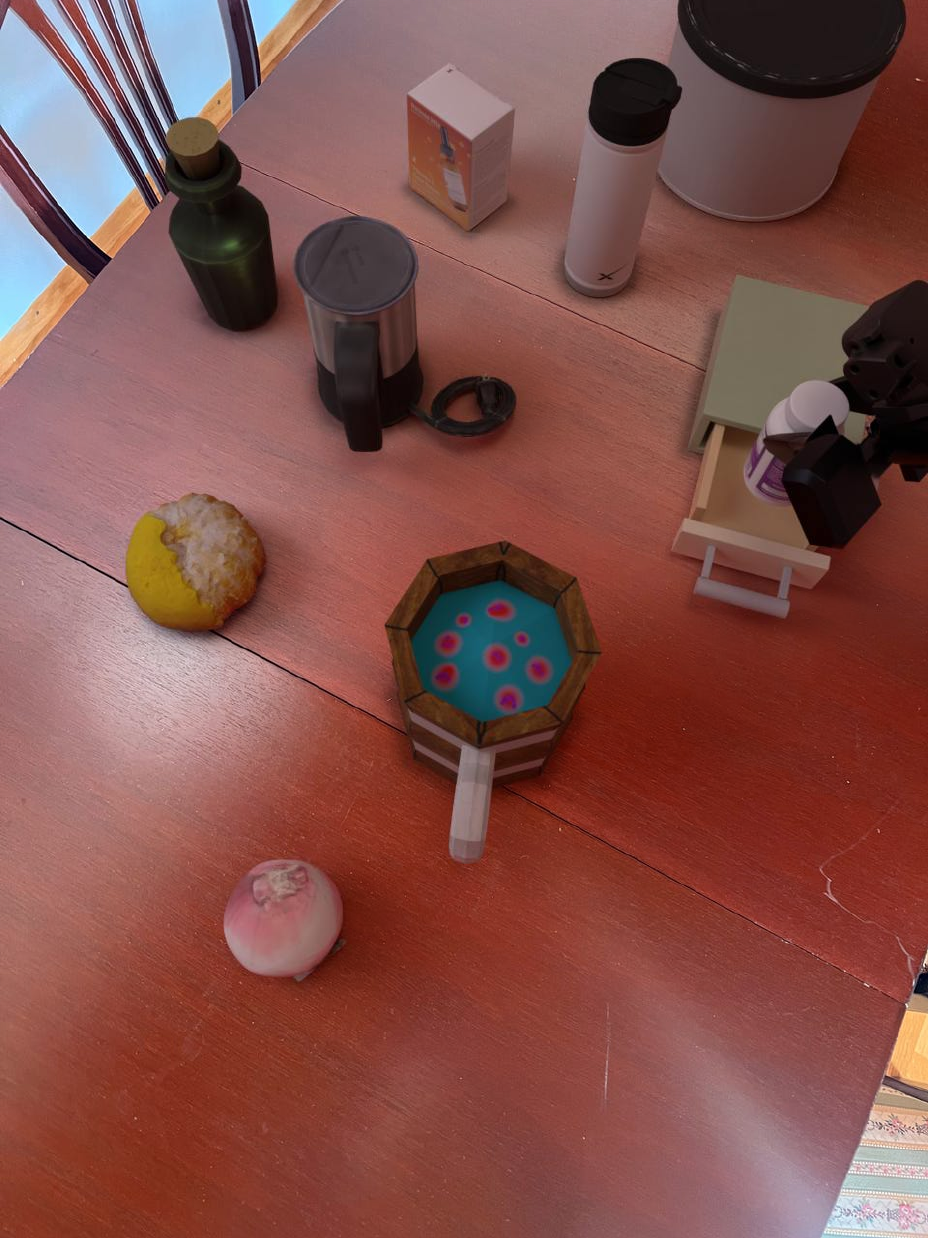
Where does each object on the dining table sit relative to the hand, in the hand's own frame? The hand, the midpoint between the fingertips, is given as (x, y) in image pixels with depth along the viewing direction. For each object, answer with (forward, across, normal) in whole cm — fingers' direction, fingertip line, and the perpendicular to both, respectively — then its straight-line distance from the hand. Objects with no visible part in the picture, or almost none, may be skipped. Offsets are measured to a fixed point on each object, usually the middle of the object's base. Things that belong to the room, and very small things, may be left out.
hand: (790, 418), depth 67 cm
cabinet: (+12, -11, +6) cm, 18 cm away
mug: (+11, +30, +8) cm, 32 cm away
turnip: (+11, +48, +8) cm, 50 cm away
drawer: (+8, +1, +10) cm, 12 cm away
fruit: (+28, +35, -10) cm, 46 cm away
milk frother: (+28, +11, -10) cm, 32 cm away
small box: (+38, -8, -19) cm, 43 cm away
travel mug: (+27, -11, -8) cm, 30 cm away
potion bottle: (+41, +15, -23) cm, 49 cm away
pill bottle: (+4, 0, +6) cm, 7 cm away
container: (+26, -32, -8) cm, 42 cm away
